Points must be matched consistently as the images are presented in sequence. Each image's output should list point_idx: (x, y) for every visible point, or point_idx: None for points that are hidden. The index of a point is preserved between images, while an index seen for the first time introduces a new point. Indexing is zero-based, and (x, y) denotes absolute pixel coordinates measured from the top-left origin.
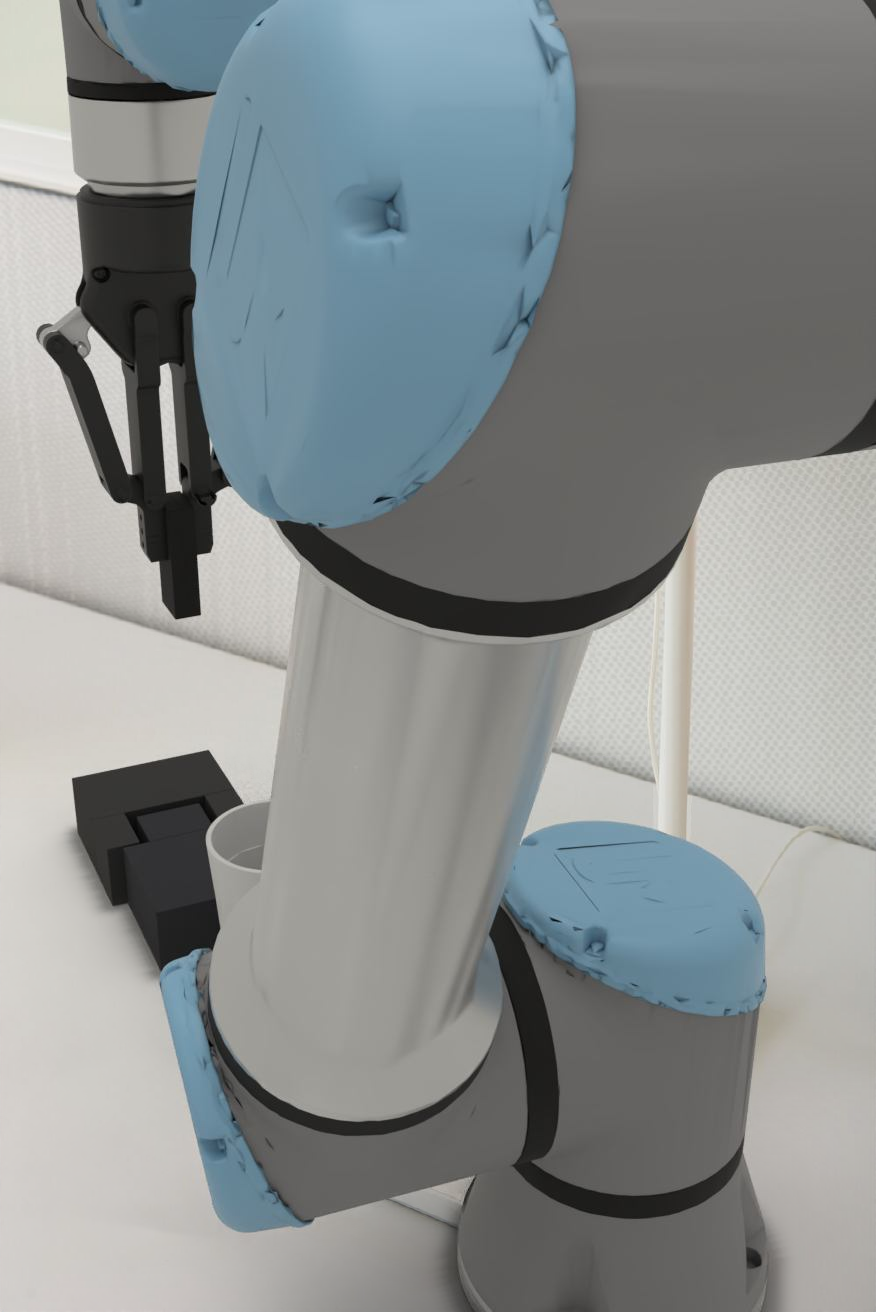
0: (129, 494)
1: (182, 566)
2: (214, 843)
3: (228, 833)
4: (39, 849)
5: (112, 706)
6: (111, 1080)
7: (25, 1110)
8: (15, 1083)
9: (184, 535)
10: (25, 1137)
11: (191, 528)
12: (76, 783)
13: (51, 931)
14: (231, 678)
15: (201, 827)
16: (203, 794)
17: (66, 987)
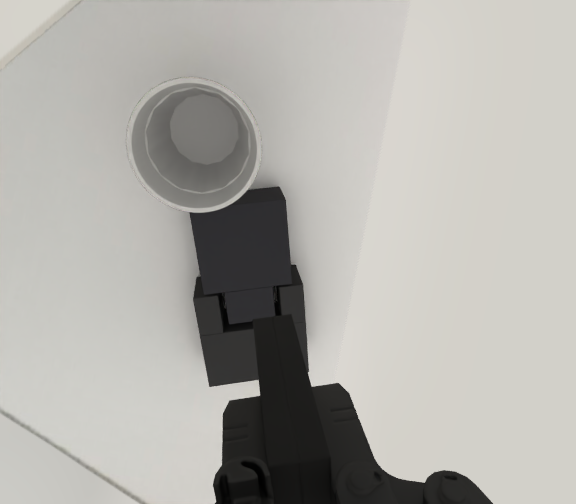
0: (433, 492)
1: (286, 369)
2: (250, 169)
3: (233, 190)
4: (327, 334)
5: None
6: (331, 84)
7: (387, 73)
8: (387, 103)
9: (286, 413)
10: (392, 46)
11: (272, 425)
12: (307, 365)
13: (336, 249)
14: (172, 490)
15: (233, 294)
16: (223, 333)
17: (339, 190)
